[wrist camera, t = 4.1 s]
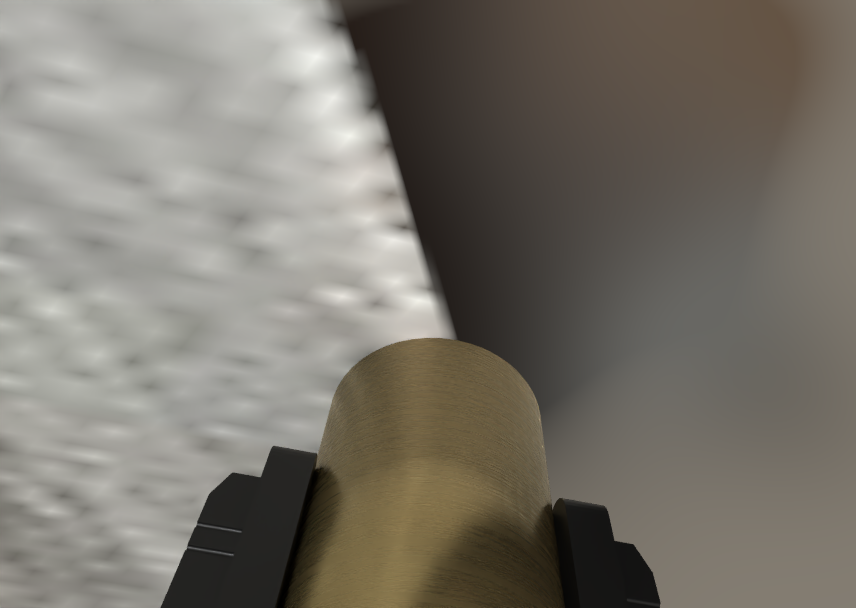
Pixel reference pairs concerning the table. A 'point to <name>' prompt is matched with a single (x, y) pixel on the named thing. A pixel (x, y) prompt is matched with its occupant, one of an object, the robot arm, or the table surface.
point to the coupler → (429, 488)
